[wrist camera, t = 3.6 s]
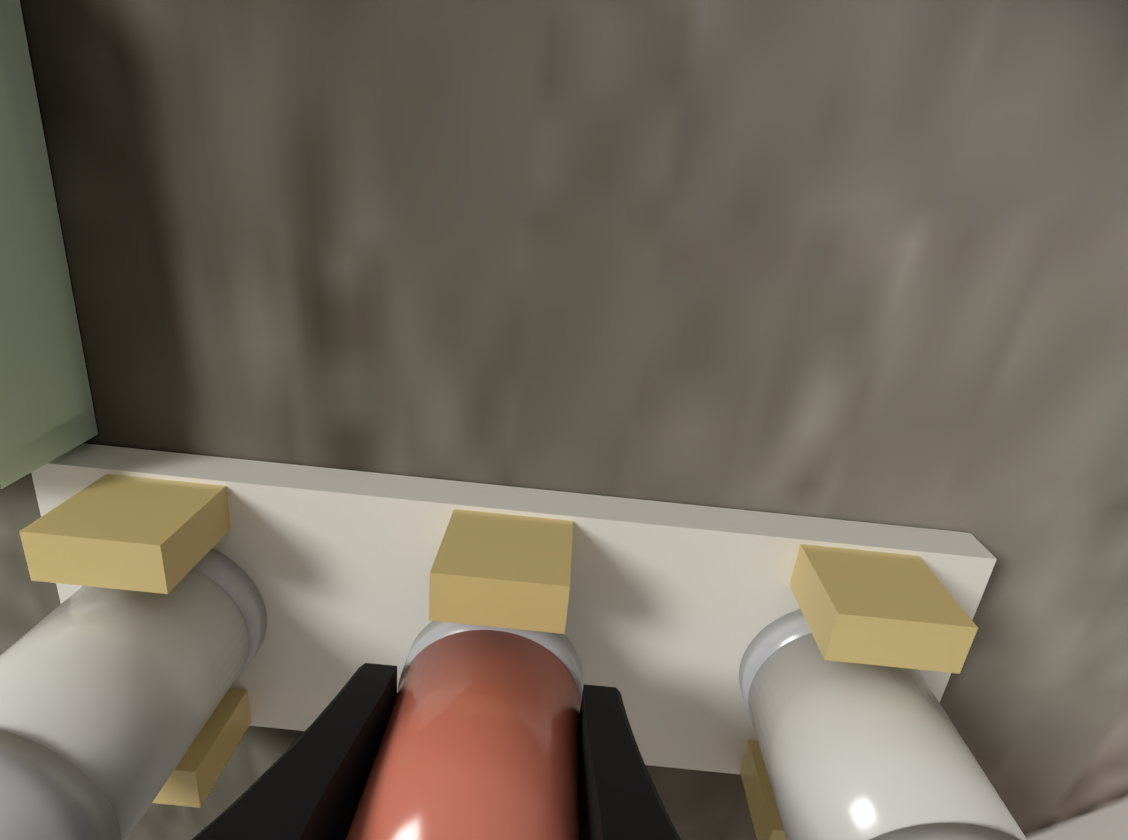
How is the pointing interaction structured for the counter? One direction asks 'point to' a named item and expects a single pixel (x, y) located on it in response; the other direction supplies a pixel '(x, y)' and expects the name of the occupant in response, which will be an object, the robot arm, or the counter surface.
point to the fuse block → (504, 588)
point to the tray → (33, 283)
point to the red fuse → (479, 740)
